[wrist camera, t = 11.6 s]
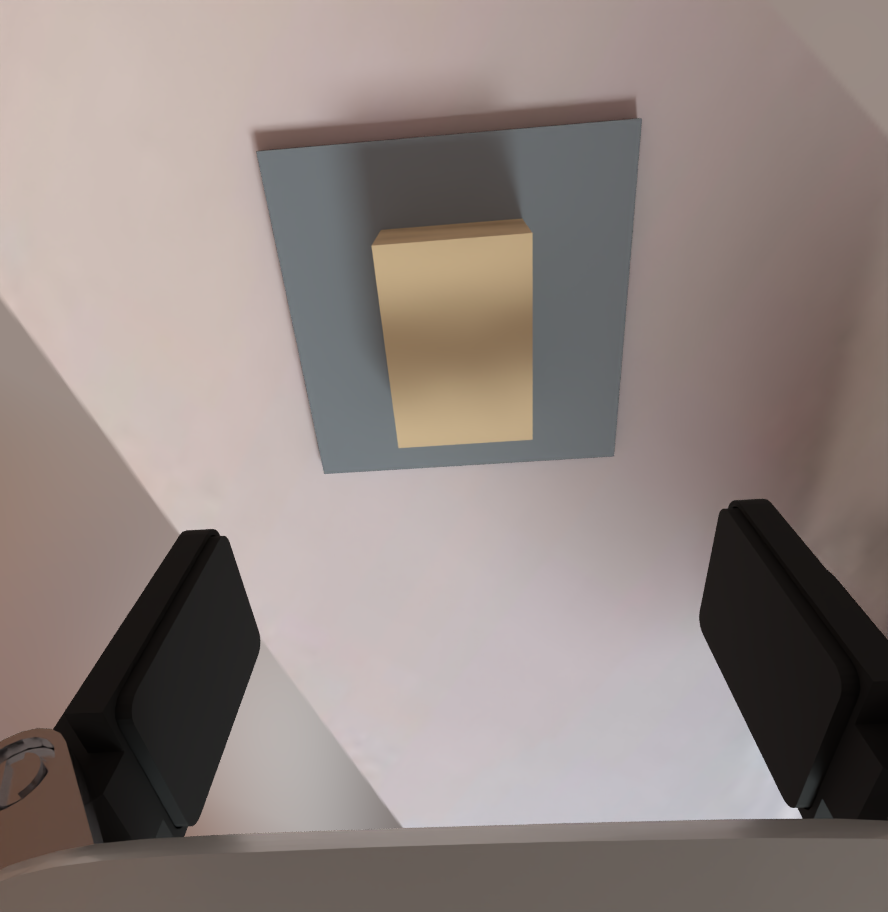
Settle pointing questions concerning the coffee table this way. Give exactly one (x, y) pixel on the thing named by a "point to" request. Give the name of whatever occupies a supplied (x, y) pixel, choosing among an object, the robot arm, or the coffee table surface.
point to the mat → (453, 202)
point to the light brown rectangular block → (458, 331)
